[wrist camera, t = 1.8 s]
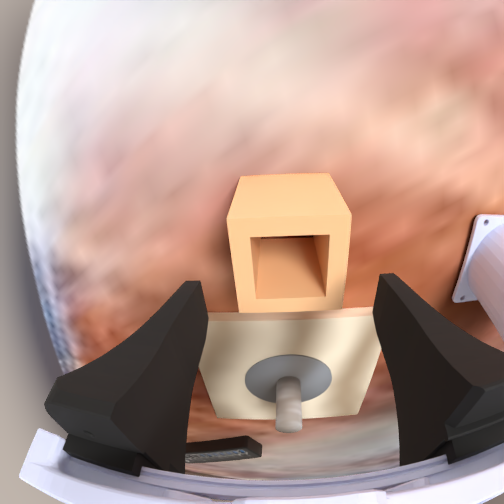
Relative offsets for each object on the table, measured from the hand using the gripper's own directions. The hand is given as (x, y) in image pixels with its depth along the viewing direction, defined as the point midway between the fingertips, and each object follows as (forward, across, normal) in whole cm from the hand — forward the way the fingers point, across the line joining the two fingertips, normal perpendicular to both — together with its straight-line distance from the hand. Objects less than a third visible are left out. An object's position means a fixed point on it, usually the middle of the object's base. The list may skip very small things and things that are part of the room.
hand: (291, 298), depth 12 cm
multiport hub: (+9, +11, +36) cm, 39 cm away
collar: (+8, 0, 0) cm, 8 cm away
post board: (+8, 0, +16) cm, 18 cm away
